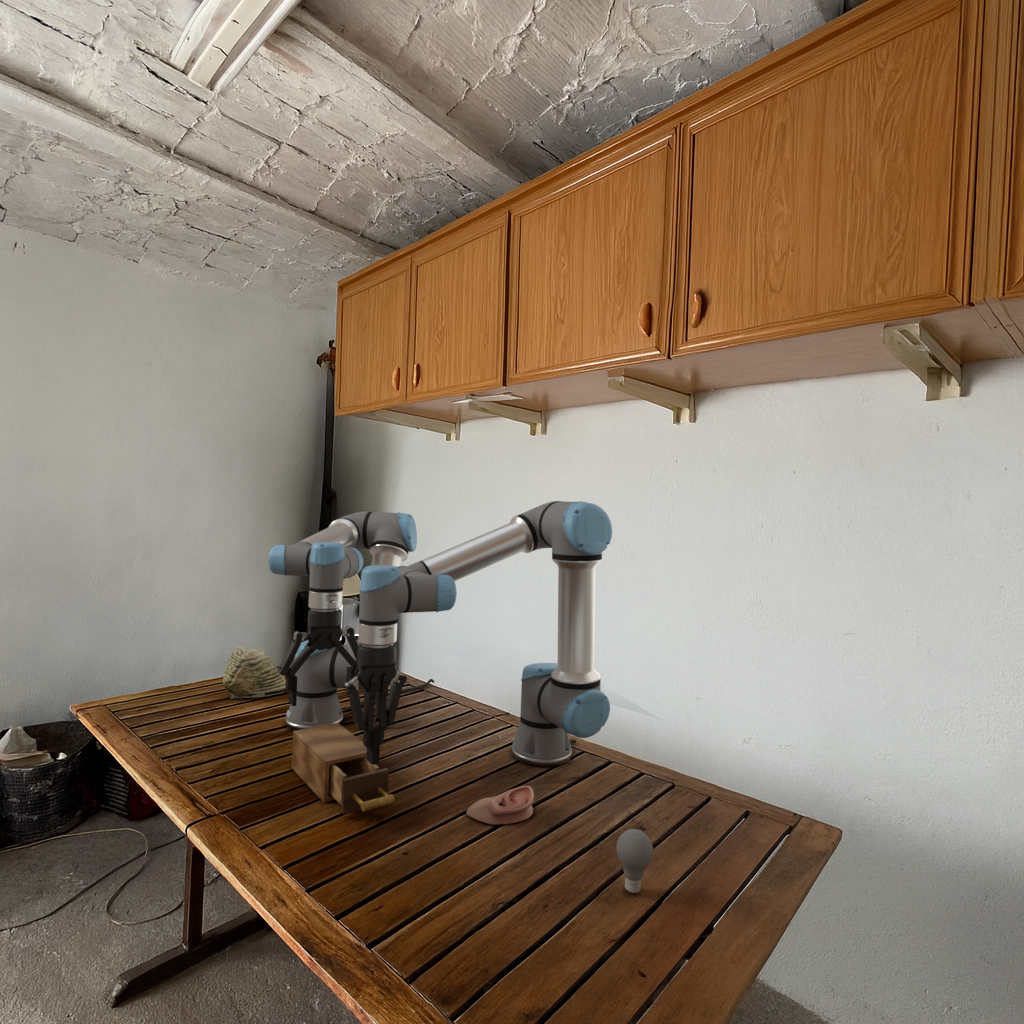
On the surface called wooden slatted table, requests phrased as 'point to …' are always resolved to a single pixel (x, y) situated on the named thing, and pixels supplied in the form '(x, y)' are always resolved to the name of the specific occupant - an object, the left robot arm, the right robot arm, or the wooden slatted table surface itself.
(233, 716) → the wooden slatted table surface
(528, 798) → the anatomical model
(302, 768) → the cabinet
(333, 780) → the drawer
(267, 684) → the fossil
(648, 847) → the light bulb
